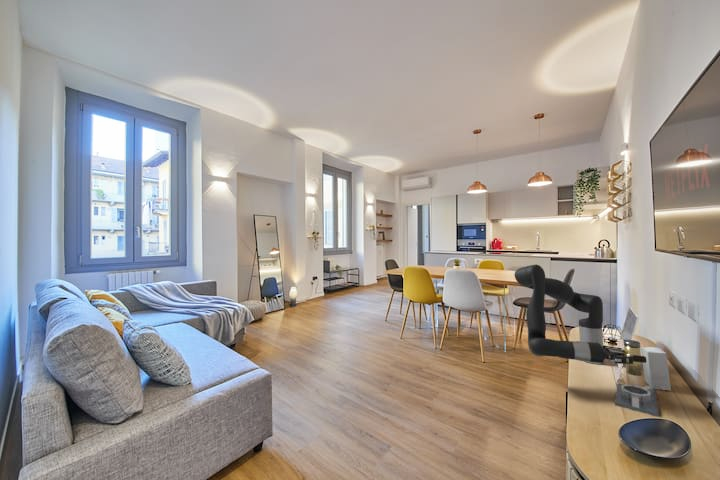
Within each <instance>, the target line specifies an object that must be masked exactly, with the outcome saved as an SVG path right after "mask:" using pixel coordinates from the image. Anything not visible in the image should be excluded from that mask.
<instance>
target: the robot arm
mask: <svg viewBox="0 0 720 480" xmlns="http://www.w3.org/2000/svg"><path fill="white" fill-rule="evenodd" d="M514 279H515V281H516V282H517V283H518V284H519V285H520V286H522V287H525V288H527V289H531V290H533V291H532V295H531V297H530V301H529V303H528V305H527V308H526V312H525V314H526V315H525V317H526V326H527V343H528V344H527V345H528V349H529V352H531V353H532V354H533V355H534V356H535V357H536V356H537V357H553V358H554V357H556V358H557V357H558V358H560V359H567V360H572V361H573V360H574V361H579V362H586V363H589V364H593V365H594V364H595V365H603V364H605V360H608V361H612V362H614V364H617V365H618V364H620V365H621V364H623V365H624V364H625V365H626V364H633V362H641V364H643V363H646V357H645V356H642V355H641V356H637V355H629V354H625V350H624V348H622V347H617V346H612V345H611V346H609V345H604V337H603V336H604V335H603V322H604V306H603V304H604V303H603V300H602V298H601V297H600V296H598V295H594V294H585V293H579V292H575V291H574V289H573V287H572V286H571V285H570V284H568V283H566V282H564V281H562V280H560V279H556V278H551V277H550V278H549V277H546V273H545V271H544V268H543V267H542V266H541V265H539V264H530V265H527V266H523V267H519V268H518V269H516V270H515V271H514ZM546 296H548V297H550V298H552V299H554V300H556V301H558V302H561V303H564V304H567V305H568V306H570V307H571V308H573V309H575V310H576V311H578V312H581V313H587V314H588V317H586V318H579V320H578V333H579V341H578V340H575V341H572V340H556V339H550V338H546V331H547V323H546V315H545V299H546ZM627 358H629V360H628V359H627Z"/></svg>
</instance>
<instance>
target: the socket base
mask: <svg viewBox="0 0 720 480" xmlns="http://www.w3.org/2000/svg"><path fill="white" fill-rule="evenodd" d="M657 399H658V398H657V392H656V390H655V389H654V388H653V387H650V386H649V385H645V386H643V387H641V386H636V385H632V384H625V383H620V382H617V384H616V393H615V400H614V404H615V406H617V407H620V408H624V409H629V410H632V411H635V412H640V413H644V414H647V415H650V416H655V417H659V409H658V407H659V406H658V400H657Z"/></svg>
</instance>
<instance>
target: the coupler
mask: <svg viewBox="0 0 720 480" xmlns="http://www.w3.org/2000/svg"><path fill="white" fill-rule="evenodd" d="M623 346H624V347H623V349H624V350H625V354H629V355H637V356H642V352H641V341H638V340H633V339H623ZM627 359H628V360H629V358H627ZM642 368H643V366H642V362H633V364H625V373H626V374H628V375H631V376H636V377H642V376H643V369H642Z"/></svg>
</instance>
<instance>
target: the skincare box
mask: <svg viewBox="0 0 720 480" xmlns="http://www.w3.org/2000/svg"><path fill="white" fill-rule="evenodd" d="M640 353H641V356H645V357H646V363H642V368H643V369H642V371H643V377H644V382H645V383H646V384H647V386H650V387H653V388H654V390H660V389H662V390H661V391H665V390H670V391H669V392H671V391H672V388H671V380H670V371H669V365H668V355H667V352H665V351H664V350H662V349H661V348H659V347H653V346H640Z"/></svg>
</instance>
